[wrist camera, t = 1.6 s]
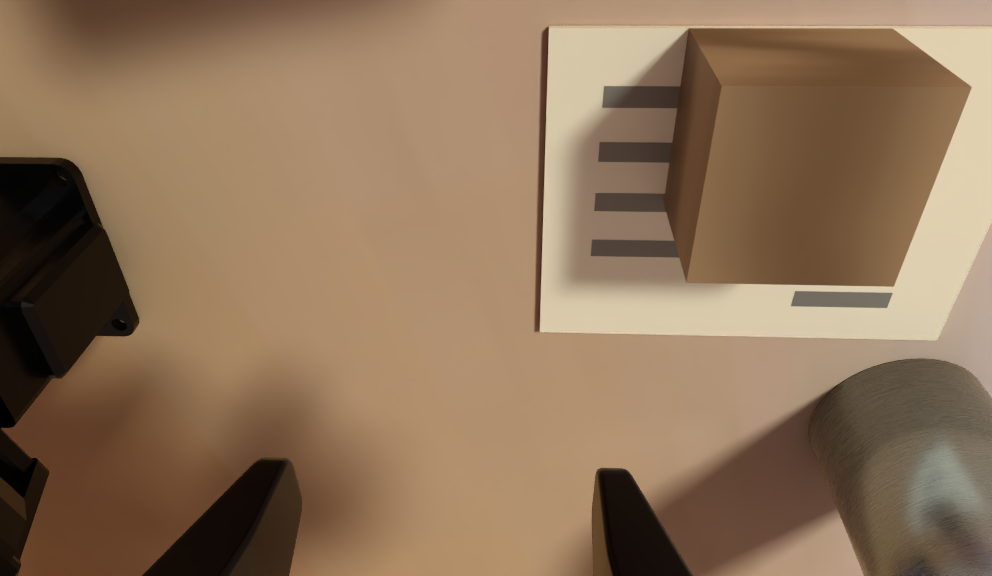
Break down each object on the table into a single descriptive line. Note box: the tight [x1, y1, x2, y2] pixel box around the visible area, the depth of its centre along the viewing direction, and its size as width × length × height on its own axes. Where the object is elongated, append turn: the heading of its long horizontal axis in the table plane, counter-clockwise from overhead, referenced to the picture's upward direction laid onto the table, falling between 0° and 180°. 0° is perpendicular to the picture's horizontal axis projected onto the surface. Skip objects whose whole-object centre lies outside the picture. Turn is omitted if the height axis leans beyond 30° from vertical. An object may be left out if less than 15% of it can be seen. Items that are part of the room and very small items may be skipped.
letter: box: [540, 26, 992, 340], centre depth 21 cm, size 13×10×1 cm
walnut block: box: [664, 28, 972, 287], centre depth 18 cm, size 5×5×4 cm
